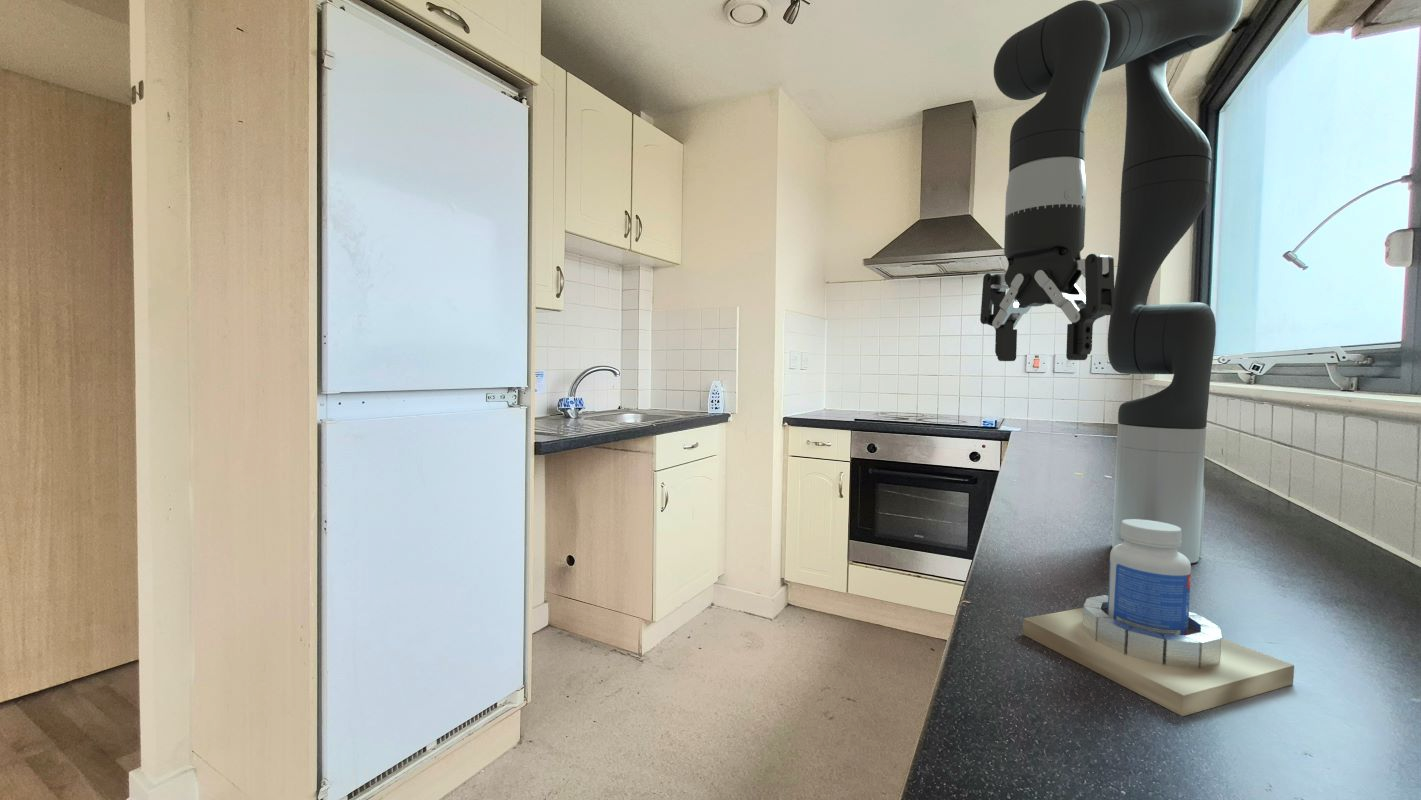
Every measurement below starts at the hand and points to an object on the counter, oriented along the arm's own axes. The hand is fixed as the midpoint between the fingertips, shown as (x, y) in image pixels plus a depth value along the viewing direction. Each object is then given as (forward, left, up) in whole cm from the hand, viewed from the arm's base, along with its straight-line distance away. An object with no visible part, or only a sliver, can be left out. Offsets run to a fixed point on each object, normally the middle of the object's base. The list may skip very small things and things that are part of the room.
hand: (1039, 360), depth 62 cm
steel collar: (+5, +15, -24) cm, 29 cm away
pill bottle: (+4, +15, -24) cm, 29 cm away
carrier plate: (+5, +15, -25) cm, 30 cm away
